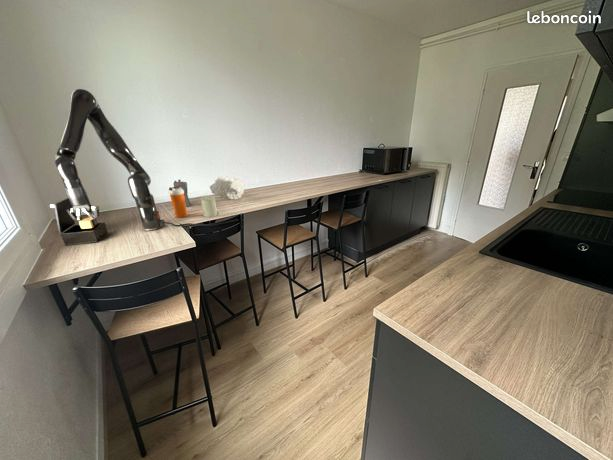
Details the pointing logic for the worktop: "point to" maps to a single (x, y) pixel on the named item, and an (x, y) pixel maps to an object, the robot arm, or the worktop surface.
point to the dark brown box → (84, 234)
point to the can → (209, 206)
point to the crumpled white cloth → (227, 187)
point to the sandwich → (86, 223)
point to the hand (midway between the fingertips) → (89, 225)
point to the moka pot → (184, 187)
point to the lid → (63, 215)
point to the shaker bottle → (178, 201)
